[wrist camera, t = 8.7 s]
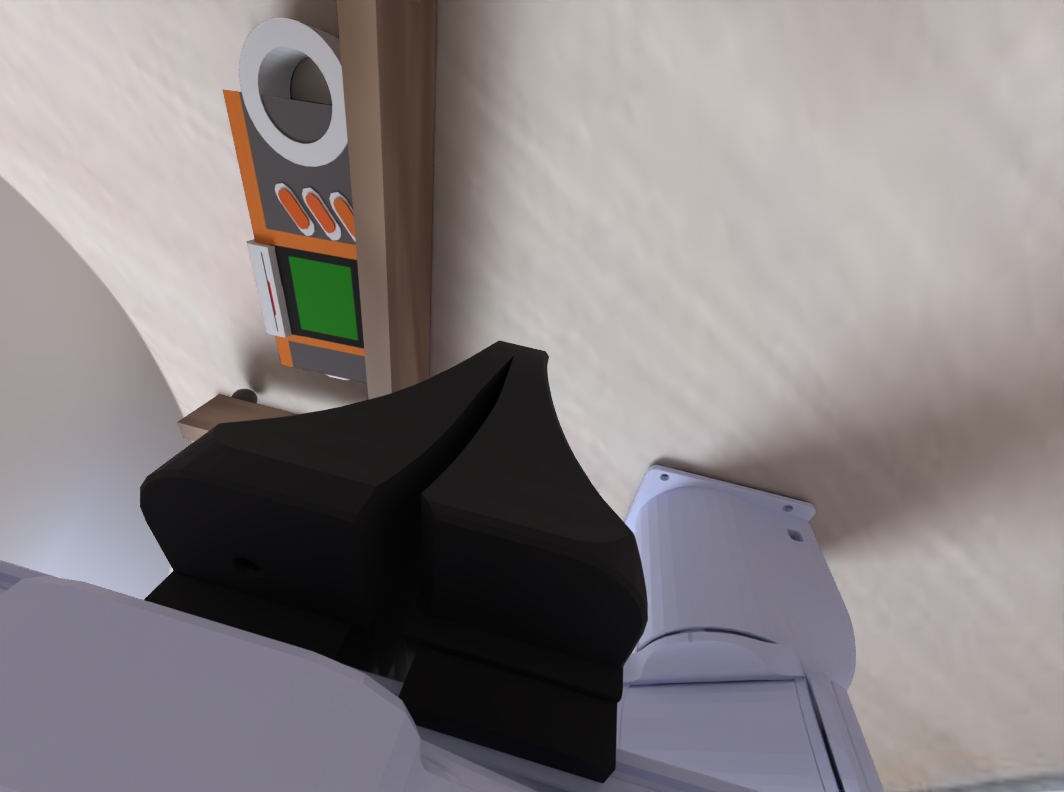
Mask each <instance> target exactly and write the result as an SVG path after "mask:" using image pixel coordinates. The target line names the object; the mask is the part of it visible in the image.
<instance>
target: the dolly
mask: <svg viewBox="0 0 1064 792" xmlns="http://www.w3.org/2000/svg"><path fill="white" fill-rule="evenodd" d="M336 3H337V16H338V28H339V40H340V53H341V65H342V78H343V90H344V103H345V115H346V128H347V140H348V152H349V165H350V177H351V190H352V202H353V215H354V227H355V240H356V252H357V264H358V277H359V289H360V302H361V314H362V327H363V339H364V352H365V364H366V376H367V389H368V400H369V399H373V398H377V397H380V396H384V395H387V394H390V393H393V392H396V391H399V390H402V389H405V388H407V387H410V386H413V385H415V384H418V383H420V382H423V381H425V380H427V379H429V363H430V313H431V262H432V212H433V161H434V111H435V61H436V10H437V0H336ZM292 415H298V414H294V413H290V412H286V411H282V410H278V409H274V408H271V407H267V406H263V405H259V404H257V396H256V394H255V393H254V392H253V391H251V390H249V389H240V390H237V391H236V392H235V393H234V394H233V395H232V397H228V396H224V395H220V394H219V395H217V396H216V397H214V398H213V399H211V400H210V401H208V402H207V403H205V404H204V405H202V406H201V407H199V408H198V409H196V410H195V411H193V412H192V413H190V414H189V415H187V416H186V417H184V418H183V419H181V420H180V421H178V422H177V423H178V426H179V428H180V431H181V433H182V435H183V438H185V439H188V440H192V441H196V440H197V439H199V438H200V437H201V436H203V435H204V434H205V433H207V432H208V431H209V430H211V429H212V428H214V427H215V426H216V425H218V424H219V423H227V422H239V421H248V420H258V419H268V418H277V417H285V416H292Z"/></svg>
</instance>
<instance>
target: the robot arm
mask: <svg viewBox="0 0 1064 792" xmlns="http://www.w3.org/2000/svg"><path fill="white" fill-rule="evenodd" d="M548 359H549V356H548V354H547V353H546V351H542V350H537V349H533V348H529V347H525V346H520V345H516V344H512V343H508V342H503V341H498V342H496V343H494V344H492V345H491V346H489V347H487V348H486V349H484V350H482V351H481V352H479V353H477V354H475V355H474V356H472V357H470V358H469V359H467V360H465V361H463V362H461V363H460V364H458V365H456V366H454V367H452V368H450V369H448V370H446V371H444V372H442V373H440V374H438V375H435V376H433V377H431V378H429V379H427V380H425V381H423V382H420V383H418V384H415V385H413V386H410V387H407V388H405V389H402V390H399V391H396V392H393V393H390V394H387V395H384V396H380V397H377V398H373V399H369V400H365V401H362V402H358V403H354V404H350V405H347V406H342V407H338V408H333V409H328V410H323V411H317V412H311V413H305V414H299V415H292V416H285V417H277V418H268V419H258V420H248V421H239V422H227V423H219V424H218V425H216V426H215V427H214V428H212V429H211V430H209V431H208V432H207V433H205V434H204V435H203V436H201V437H200V438H199V439H197V440H196V441H195V442H193V443H192V444H190V445H189V446H188V447H186V448H185V449H184V450H182V451H181V452H180V453H178V454H177V455H176V456H174V457H173V458H171V459H170V460H169V461H167V462H166V463H165V464H163V465H162V466H161V467H160V468H158V469H157V470H155V471H154V472H152V474H150V475H149V476H147V477H146V479H145V481H144V482H143V484H142V485H141V487H140V507H141V509H142V512H143V515H144V517H145V520H146V522H147V524H148V526H149V527H150V529H151V531H152V533H153V535H154V536H155V538H156V540H157V541H158V543H159V545H160V547H161V549H162V551H163V552H164V554H165V556H166V558H167V559H168V561H169V563H170V565H171V567H172V568H173V570H174V571H173V572H172V573H171V574H170V575H169V576H168V577H167V578H166V579H165V580H164V581H163V582H162V583H161V584H160V585H159V586H157V587H156V588H155V589H154V590H153V591H152V592H151V594H149V595H148V597H146V598H145V599H144V600H142V599H138V598H135V597H132V596H128V595H125V594H122V593H119V592H115V591H112V590H109V589H105V588H102V587H99V586H96V585H92V584H89V583H85V582H81V581H75V580H69V579H62V578H58V577H54V576H51V575H48V574H44V573H41V572H38V571H35V570H31V569H28V568H25V567H21V566H18V565H15V564H12V563H8V562H5V561H2V560H0V792H884V790H883V787H882V784H881V781H880V779H879V776H878V773H877V771H876V768H875V765H874V763H873V760H872V757H871V755H870V752H869V749H868V747H867V744H866V741H865V739H864V736H863V733H862V731H861V728H860V725H859V723H858V720H857V717H856V715H855V712H854V709H853V707H852V704H851V701H850V699H849V696H848V694H847V690H848V688H849V686H850V684H851V681H852V679H853V675H854V671H855V663H856V648H855V637H854V631H853V627H852V623H851V619H850V616H849V613H848V611H847V608H846V606H845V604H844V601H843V599H842V597H841V594H840V592H839V590H838V588H837V585H836V583H835V581H834V578H833V576H832V574H831V572H830V569H829V567H828V565H827V562H826V560H825V558H824V555H823V553H822V551H821V549H820V546H819V544H818V542H817V539H816V537H815V535H814V533H813V530H812V528H811V526H810V523H809V521H810V520H811V519H812V517H813V516H814V515H815V513H816V511H815V508H814V506H813V505H812V504H810V503H808V502H804V501H800V500H796V499H792V498H788V497H784V496H780V495H776V494H772V493H768V492H764V491H760V490H756V489H752V488H748V487H744V486H740V485H736V484H732V483H728V482H724V481H720V480H716V479H712V478H708V477H704V476H700V475H696V474H692V473H688V472H684V471H680V470H676V469H672V468H668V467H664V466H660V465H652V466H650V467H649V468H648V469H647V471H646V474H645V476H644V478H643V481H642V483H641V485H640V487H639V490H638V492H637V494H636V497H635V499H634V501H633V504H632V506H631V508H630V511H629V513H628V515H627V518H626V520H625V522H623V521H622V520H621V519H620V517H619V516H618V515H617V514H616V513H615V512H614V511H613V510H612V509H611V507H610V506H609V505H608V504H607V503H606V502H605V501H604V500H603V498H602V497H601V496H600V494H599V493H598V492H597V490H596V489H595V488H594V486H593V485H592V483H591V482H590V480H589V479H588V477H587V475H586V474H585V472H584V471H583V469H582V467H581V466H580V464H579V463H578V461H577V459H576V458H575V456H574V454H573V452H572V450H571V448H570V446H569V444H568V442H567V440H566V438H565V435H564V433H563V431H562V428H561V426H560V423H559V420H558V418H557V414H556V411H555V408H554V405H553V401H552V397H551V392H550V388H549V382H548V374H547V364H548ZM662 474H667V476H662ZM787 505H789V506H787ZM784 506H787V507H784ZM634 648H635V653H633V654H631V653H632V651H633V650H634Z"/></svg>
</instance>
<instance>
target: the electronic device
mask: <svg viewBox="0 0 1064 792" xmlns="http://www.w3.org/2000/svg"><path fill="white" fill-rule="evenodd" d="M306 57H310V58H311V59H312V60H313V61H314V62H315V64H316V65H317V66H318V67H319V69H320V70H321V72H322V73H323V75H324V77H325V80H326V82H327V84H328V87H329V90H330V94H331V99H332V105H329V104H328V105H325V104H322V103H321V104H318V103H315V102H314V103H311V102H308V101H307V102H304V101H301V100H300V101H298V100H294V99H293V100H291V96H290V82H291V77H292V73H293V71H294V69H295V67H296V66H297V64H298V63H299V62H300V61H301V60H303V59H304V58H306ZM239 78H240V86H241V92H237V91H229V90H223V93H224V98H225V102H226V107H227V112H228V117H229V121H230V126H231V131H232V135H233V140H234V145H235V149H236V154H237V159H238V163H239V168H240V173H241V177H242V182H243V187H244V191H245V196H246V201H247V205H248V210H249V215H250V219H251V224H252V229H253V233H254V238H255V239H254V240H250V241H247V247H248V251H249V256H250V260H251V265H252V269H253V274H254V278H255V283H256V287H257V291H258V296H259V300H260V305H261V309H262V314H263V318H264V323H265V327H266V332H267V334H271V335H275V336H276V341H277V346H278V350H279V355H280V360H281V364H282V365H284V366H289V367H294V368H298V369H303V370H308V371H312V372H317V373H322V374H326V375H327V376H329V377H333V378H338V379H342V380H355V381H359V382H364V383H367V376H366V364H365V352H364V339H363V327H362V314H361V302H360V289H359V277H358V264H357V252H356V240H355V227H354V215H353V202H352V190H351V177H350V165H349V152H348V140H347V128H346V115H345V103H344V90H343V78H342V65H341V53H340V40H339V38H337V37H335V36H333V35H332V34H330V33H328V32H325V31H322V30H320V29H317V28H315V27H312V26H309V25H307V24H304V23H302V22H299V21H296V20H292V19H288V18H271V19H268V20H265V21H263V22H261V23H260V24H259V25H257V26H256V27H255V28H254V29H253V30H252V31H251V33H250V34H249V35H248V37H247V38H246V41H245V43H244V46H243V48H242V52H241V57H240V65H239Z"/></svg>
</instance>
